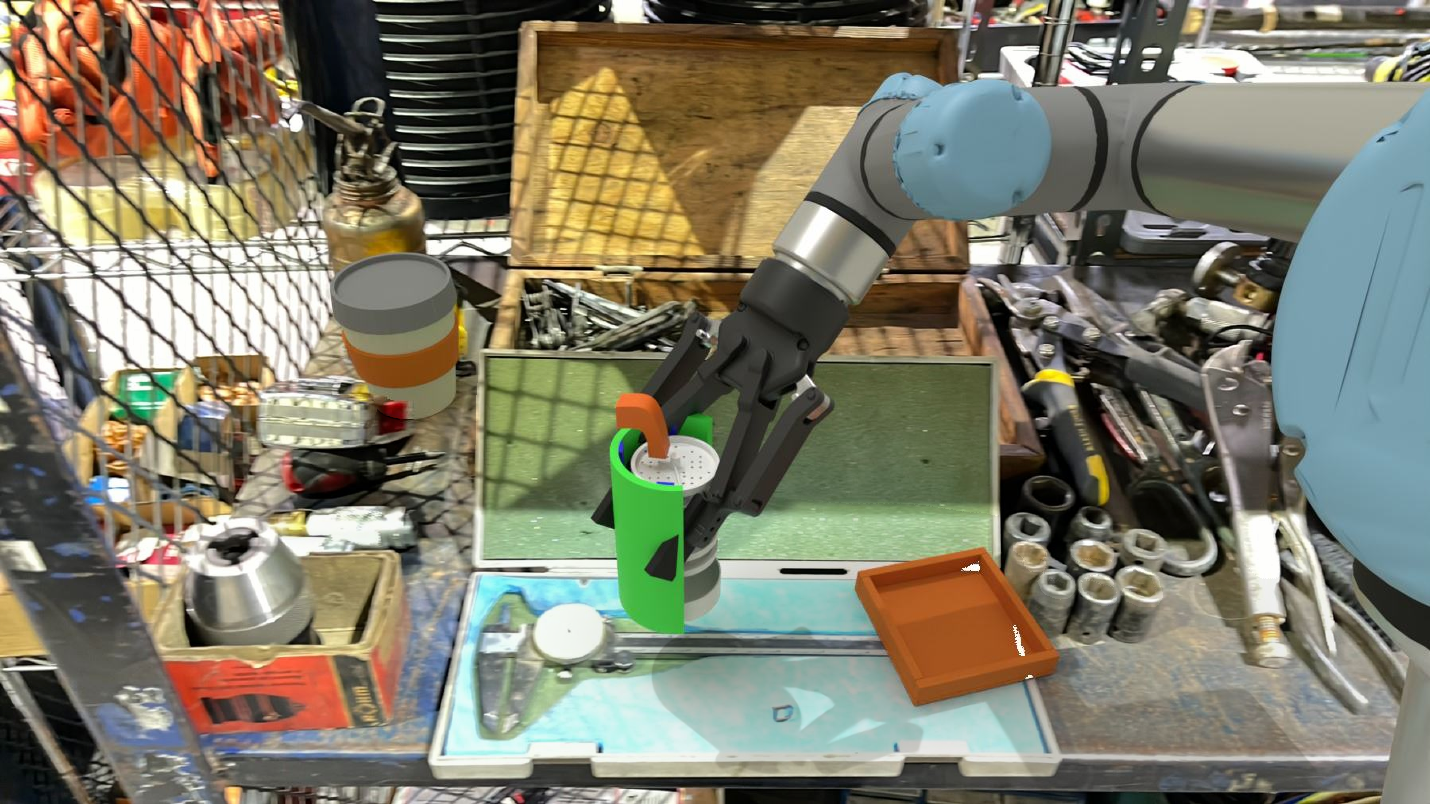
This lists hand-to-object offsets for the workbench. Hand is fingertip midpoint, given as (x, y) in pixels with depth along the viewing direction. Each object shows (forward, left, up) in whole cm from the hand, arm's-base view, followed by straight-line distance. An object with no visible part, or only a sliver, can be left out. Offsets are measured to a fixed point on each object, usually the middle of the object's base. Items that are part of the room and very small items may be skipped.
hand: (630, 548), depth 66 cm
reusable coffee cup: (+43, +17, -15) cm, 48 cm away
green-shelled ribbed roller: (+2, -3, -7) cm, 8 cm away
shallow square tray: (-2, -27, -14) cm, 31 cm away
